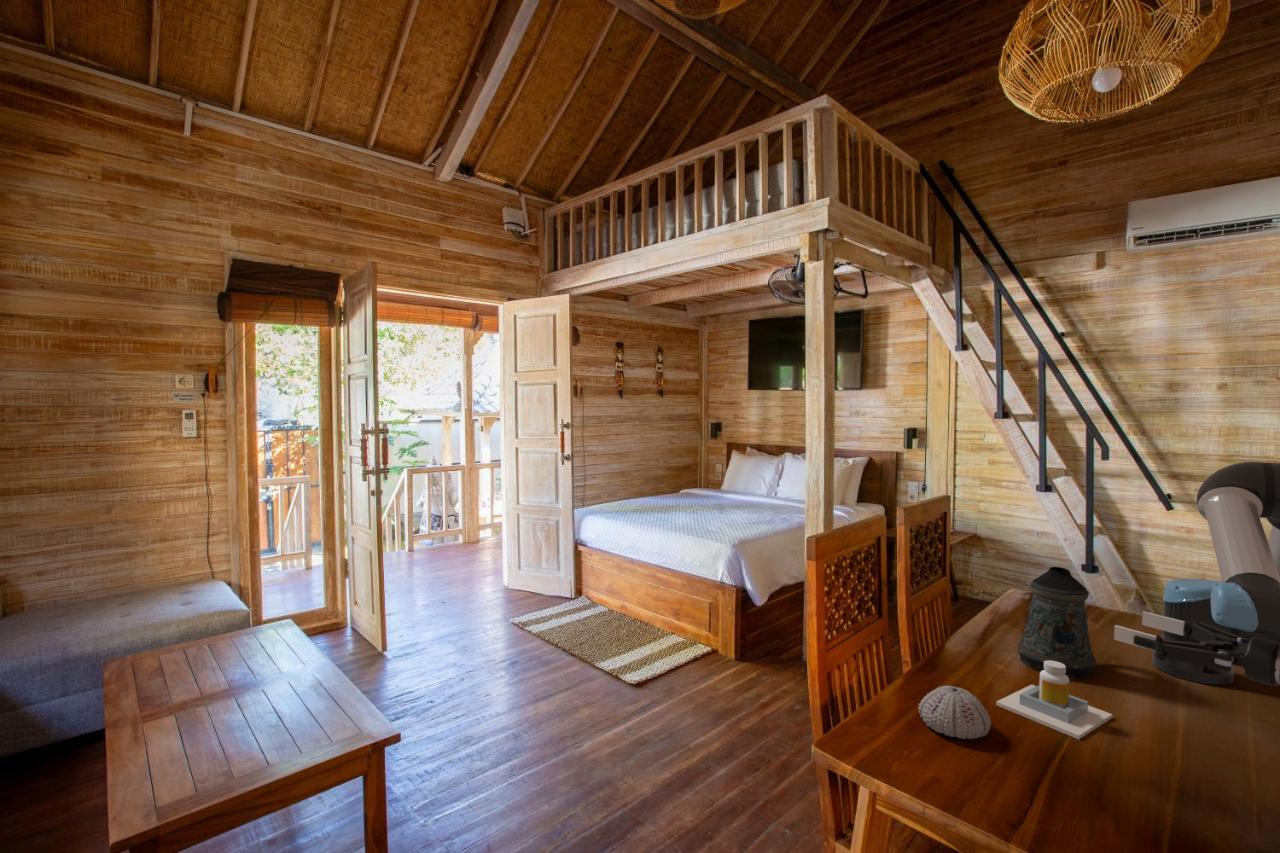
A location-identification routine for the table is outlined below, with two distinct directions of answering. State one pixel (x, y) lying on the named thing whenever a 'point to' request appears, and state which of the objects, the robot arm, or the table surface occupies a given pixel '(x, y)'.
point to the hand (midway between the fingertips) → (1129, 624)
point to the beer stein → (1058, 625)
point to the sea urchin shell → (955, 713)
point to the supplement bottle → (1054, 684)
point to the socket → (1055, 712)
